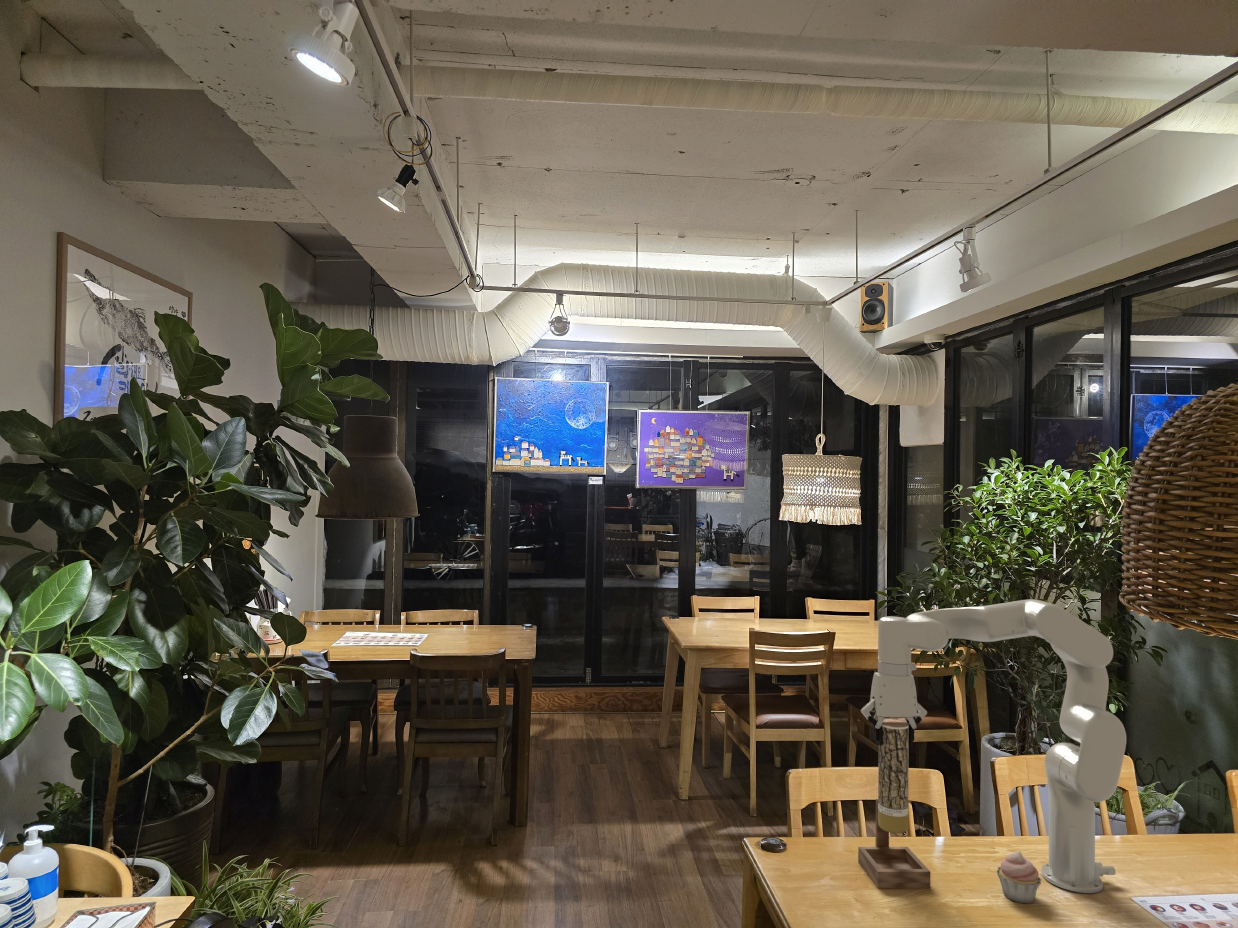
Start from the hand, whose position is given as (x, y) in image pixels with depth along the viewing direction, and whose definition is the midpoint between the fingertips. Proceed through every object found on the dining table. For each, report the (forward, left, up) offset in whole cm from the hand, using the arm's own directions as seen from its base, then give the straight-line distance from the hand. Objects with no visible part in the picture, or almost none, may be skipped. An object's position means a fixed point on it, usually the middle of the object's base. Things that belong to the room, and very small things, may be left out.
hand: (893, 743), depth 183 cm
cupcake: (-25, +10, -31) cm, 41 cm away
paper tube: (0, 0, -20) cm, 20 cm away
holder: (0, 0, -31) cm, 31 cm away
